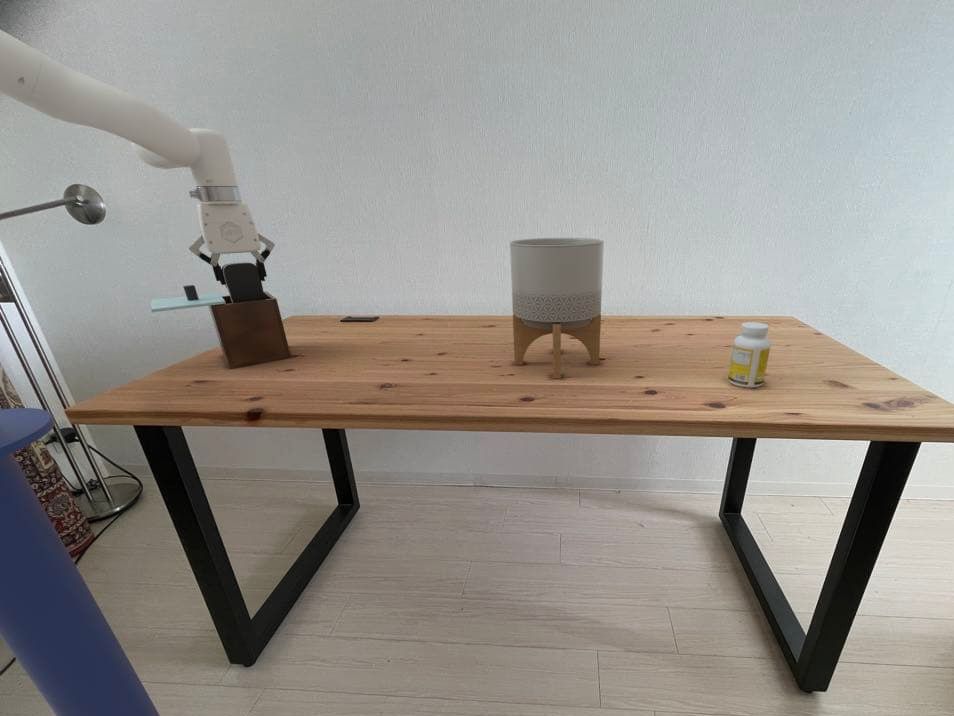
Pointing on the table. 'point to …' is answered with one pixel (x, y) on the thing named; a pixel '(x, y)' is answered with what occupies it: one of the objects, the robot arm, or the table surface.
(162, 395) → the table surface
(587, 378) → the table surface
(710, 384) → the table surface
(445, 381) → the table surface
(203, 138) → the robot arm
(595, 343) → the planter
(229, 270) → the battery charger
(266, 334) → the brown wooden box
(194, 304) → the lid
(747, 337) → the pill bottle
